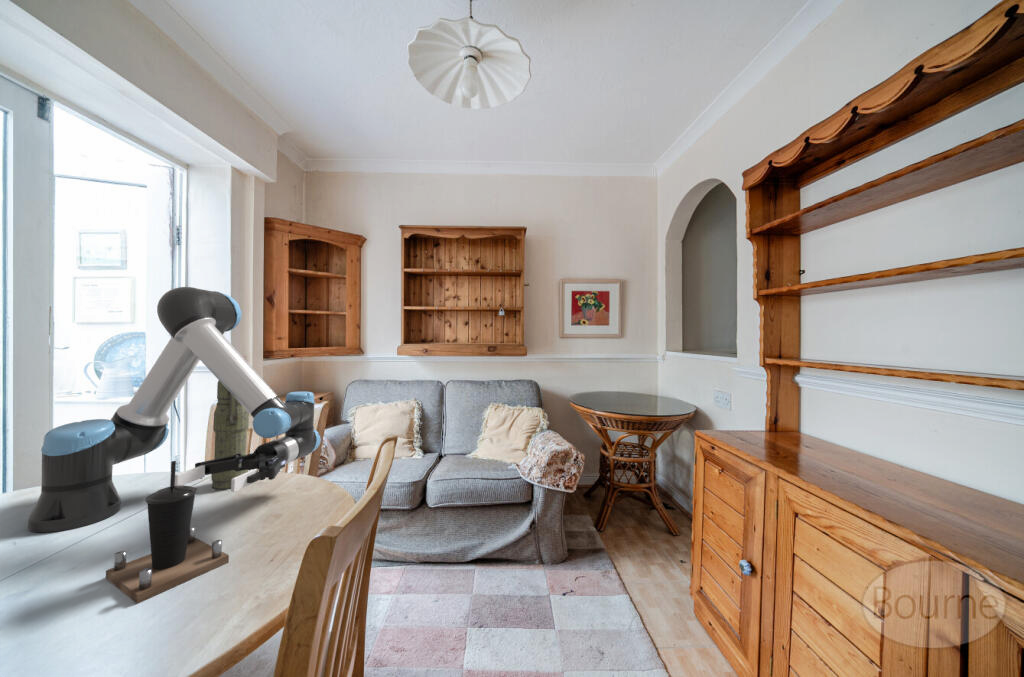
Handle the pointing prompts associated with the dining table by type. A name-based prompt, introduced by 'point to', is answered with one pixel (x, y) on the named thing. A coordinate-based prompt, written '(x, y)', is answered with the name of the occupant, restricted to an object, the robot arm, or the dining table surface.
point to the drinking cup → (170, 522)
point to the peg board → (148, 582)
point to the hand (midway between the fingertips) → (204, 483)
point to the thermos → (228, 434)
